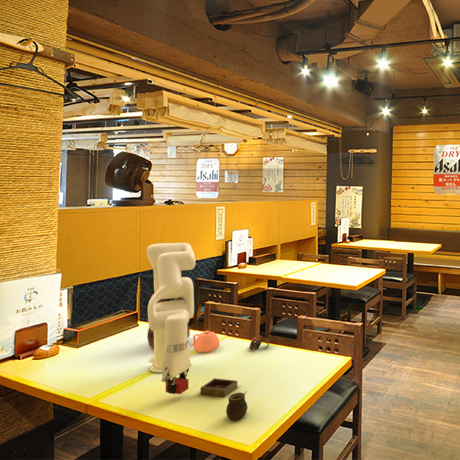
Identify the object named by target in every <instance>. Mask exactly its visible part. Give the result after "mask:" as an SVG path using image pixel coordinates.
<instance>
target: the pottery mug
mask: <svg viewBox="0 0 460 460" xmlns="http://www.w3.org/2000/svg"><path fill="white" fill-rule="evenodd" d="M262 343H265V344H267V345H266V348H269V346H270V339H269V338H268V337H266V336H264V335H262V334H257V335H256V336H254V337H253V338H252V339H251V341H250V344H249V351H252V352H254V351H258V350H259V349H260V346H261V345H262Z"/></svg>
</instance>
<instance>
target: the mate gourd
mask: <svg viewBox="0 0 460 460" xmlns="http://www.w3.org/2000/svg"><path fill="white" fill-rule="evenodd" d="M247 392H248V390H246V391H245V392H234V393H230V395H228V398H227V399H228V400H227V401H228V403H227V406H226V408H225V409H226V410H225V413H226V416H227V418H228V419H229V420H232V421H239V420H240V419H243V418H244V417H245V415H246V414H247V412H248V403H247V401H246V394H247Z"/></svg>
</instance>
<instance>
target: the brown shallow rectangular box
mask: <svg viewBox="0 0 460 460" xmlns="http://www.w3.org/2000/svg"><path fill="white" fill-rule="evenodd" d="M237 388H238V380H234V379H225V378H213V379H211V380H210V381H208V382H207V383H205V384H204V385H202V386H201V387H200V395H205V396H211V397H221V398H225V397H227V396H229V394H231V393H232V392H233V391H235V389H237Z"/></svg>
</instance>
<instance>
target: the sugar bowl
mask: <svg viewBox="0 0 460 460" xmlns="http://www.w3.org/2000/svg"><path fill="white" fill-rule="evenodd" d="M192 340H193V342H192V343H191V345H192V347H193V349H195V351H196V352H198V353H211V352H212V351H214V350H216V349H217V348H218V347H219V346H220V338H219V337H218V335H217V334H216V333H215V332H214V331H210V330H204V331H203V332H201V333H196V334H193V336H192Z"/></svg>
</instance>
